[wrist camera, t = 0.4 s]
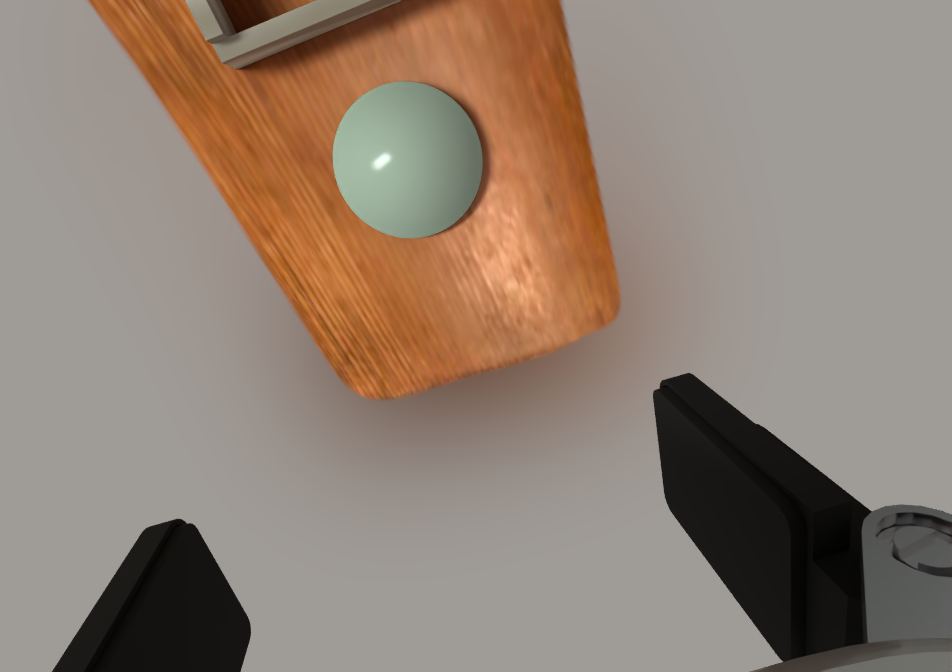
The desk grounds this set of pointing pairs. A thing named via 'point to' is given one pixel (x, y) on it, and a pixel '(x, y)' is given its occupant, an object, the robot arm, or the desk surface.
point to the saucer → (407, 159)
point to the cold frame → (275, 27)
